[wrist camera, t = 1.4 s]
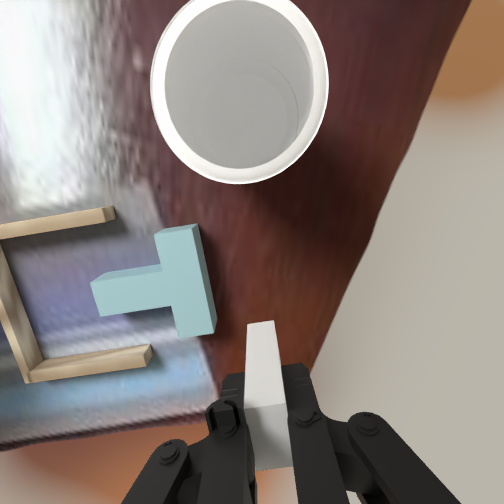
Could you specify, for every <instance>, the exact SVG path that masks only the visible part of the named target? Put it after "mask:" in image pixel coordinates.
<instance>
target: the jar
mask: <svg viewBox="0 0 504 504" xmlns="http://www.w3.org/2000/svg"><path fill="white" fill-rule="evenodd" d="M150 92H151V102H152V107H153V112H154V115H155V119H156V122H157V124H158V127H159V129H160V131H161V133H162V135H163V137H164V139H165V141H166V142H167V144H168V145H169V147H170V148H171V149H172V151H173V152H174V153H175V154H176V155H177V157H178V158H179V159H180V160H181V161H182V162H184V163H185V164H186V165H187V166H188V167H190V168H191V169H193V170H194V171H196V172H197V173H199V174H201V175H203V176H205V177H207V178H210V179H212V180H215V181H219V182H223V183H230V184H247V183H254V182H258V181H262V180H265V179H268V178H270V177H272V176H275V175H276V174H278V173H280V172H282V171H283V170H285V169H286V168H288V167H289V166H290V165H292V164H293V163H294V162H295V161H296V160H297V159H298V158H299V157H300V156H301V155H302V154H303V153H304V152H305V150H306V149H307V148H308V146H309V145H310V143H311V142H312V140H313V139H314V137H315V135H316V133H317V131H318V129H319V127H320V124H321V122H322V119H323V116H324V113H325V109H326V104H327V98H328V68H327V62H326V57H325V53H324V50H323V47H322V44H321V42H320V39H319V37H318V35H317V33H316V31H315V29H314V28H313V26H312V24H311V23H310V21H309V20H308V19H307V17H306V16H305V15H304V14H303V13H302V11H301V10H300V9H299V8H298V7H297V6H295V5H294V4H293V3H292V2H291V1H289V0H191V1H189V2H188V3H187V4H186V5H184V6H183V7H182V8H181V9H180V10H179V11H178V12H177V13H176V15H175V16H174V17H173V18H172V20H171V21H170V22H169V24H168V25H167V27H166V29H165V30H164V32H163V34H162V36H161V38H160V40H159V43H158V45H157V48H156V51H155V54H154V58H153V62H152V68H151V77H150Z"/></svg>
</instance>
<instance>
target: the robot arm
mask: <svg viewBox="0 0 504 504" xmlns="http://www.w3.org/2000/svg"><path fill="white" fill-rule="evenodd" d="M205 416H206V421H207V425H208V429H209V435H208V436H207V437H206V438H204V439H203V440H201V441H199V442H197V443H194V444H192V445H190V446H187V444H186V443H185V442H184V441H183V440H180V439H173V440H169V441H167V442H165V443H163V444H161V445H160V446H159V447H157V449H156V450H155V451H154V452H153V453H152V455H151V457H150V458H149V460H148V461H147V463H146V464H145V466H144V468H143V470H142V471H141V472H140V474H139V476H138V477H137V479H136V481H135V482H134V484H133V486H132V487H131V489H130V490H129V492H128V493H127V495H126V497H125V498H124V500H123V501H122V503H121V504H257V483H256V478H255V467H256V471H260V470H268V469H276V468H283V467H291V466H293V467H294V475H295V482H296V489H297V496H298V504H350V503H349V499H348V496H347V493H346V490H347V491H352V492H356V494H357V497H358V498H359V500H360V502H361V503H362V504H461V503H460V502H459V501H458V500H457V499H456V498H455V496H454V495H453V494H452V493H451V492H450V491H449V490H448V489H447V488H446V486H445V485H444V484H443V483H442V482H441V481H440V480H439V479H438V478H437V477H436V476H435V474H433V472H432V471H431V470H430V469H429V468H428V467H427V466H426V465H425V463H424V462H423V461H422V460H421V459H420V458H419V457H418V456H417V455H416V454H415V453H414V451H413V450H412V449H411V448H410V447H409V446H408V445H407V444H406V443H405V442H404V441H403V439H402V438H401V437H400V436H399V435H398V434H397V433H396V432H395V431H394V430H393V429H392V427H391V426H390V425H389V424H388V423H387V422H386V421H385V420H384V419H383V418H381V417H380V416H379V415H376V414H373V413H369V412H360V413H356V414H355V415H353V416H351V417H350V419H349V420H348V422H341V421H336V420H332V419H330V418H328V417H326V416H325V415H324V414H323V413H322V412H321V410H320V408H319V405H318V402H317V399H316V395H315V391H314V388H313V385H312V381H311V378H310V374H309V371H308V368H307V367H305V366H304V365H303V364H302V363H297V364H290V365H283V366H281V361H280V355H279V349H278V343H277V337H276V331H275V325H274V320H273V321H266V322H260V323H253V324H248V325H247V347H246V370H245V372H241V373H234V374H228V375H227V376H226V378H225V379H224V381H223V382H222V388H221V395H220V399H219V400H217V401H215V402H213V403H212V404H211V405H210V406H209V407H208V408H207V410H206V412H205Z"/></svg>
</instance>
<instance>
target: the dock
mask: <svg viewBox="0 0 504 504" xmlns="http://www.w3.org/2000/svg"><path fill="white" fill-rule="evenodd" d="M114 219H116V217H115V213H114V209H113V206H108V207H102V208H96V209H90V210H84V211H78V212H72V213H65V214H59V215H53V216H47V217H41V218H35V219H29V220H23V221H17V222H11V223H5V224H0V239H6V238H12V237H18V236H24V235H30V234H36V233H42V232H48V231H54V230H61V229H67V228H73V227H79V226H85V225H91V224H97V223H103V222H108V221H111V220H114ZM0 321H1V323H2V326H3V328H4V331H5V333H6V336H7V338H8V341H9V343H10V346H11V348H12V351H13V354H14V356H15V359H16V361H17V364H18V366H19V369H20V371H21V374H22V376H23V379H24V381H25V384H27V383H34V382H41V381H48V380H55V379H62V378H69V377H76V376H83V375H90V374H97V373H104V372H111V371H118V370H125V369H132V368H139V367H146V366H147V364H148V362H149V361H150V359H151V357H152V355H153V353H152V349H151V345H150V344H146V345H140V346H133V347H126V348H119V349H112V350H105V351H99V352H92V353H85V354H78V355H71V356H64V357H58V358H51V359H44V360H43V357H42V355H41V352H40V349H39V347H38V344H37V341H36V339H35V336H34V333H33V330H32V328H31V325H30V322H29V320H28V317H27V314H26V312H25V309H24V306H23V304H22V301H21V298H20V296H19V293H18V290H17V288H16V285H15V282H14V280H13V277H12V274H11V272H10V269H9V266H8V264H7V261H6V258H5V255H4V253H3V250H2V247H1V245H0Z"/></svg>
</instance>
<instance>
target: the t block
mask: <svg viewBox="0 0 504 504" xmlns="http://www.w3.org/2000/svg"><path fill="white" fill-rule="evenodd" d="M154 238H155V242H156V246H157V250H158V254H159V259H160V263H161V264H157V265H151V266H145V267H138V268H132V269H126V270H119V271H113V272H106V273H104V274H103V275H101V276H99V277H98V278H96V279H95V280H93V281H92V282H90V285H91V288H92V291H93V294H94V298H95V301H96V304H97V307H98V311H99V314H100V317H101V316H107V315H114V314H120V313H127V312H134V311H140V310H147V309H154V308H160V307H167V306H171V308H172V312H173V316H174V320H175V324H176V328H177V332H178V336H179V338H185V337H192V336H199V335H205V334H212V333H214V331H215V327H216V323H217V314H216V310H215V305H214V300H213V295H212V290H211V285H210V281H209V276H208V271H207V266H206V261H205V256H204V252H203V247H202V242H201V237H200V232H199V227H198V224H192V225H186V226H179V227H173V228H167V229H163V230H161V231H159V232H158V233H156V234H154Z"/></svg>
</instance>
